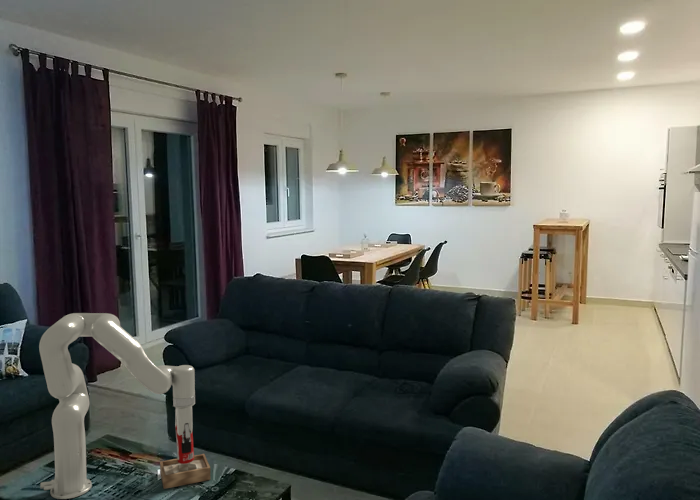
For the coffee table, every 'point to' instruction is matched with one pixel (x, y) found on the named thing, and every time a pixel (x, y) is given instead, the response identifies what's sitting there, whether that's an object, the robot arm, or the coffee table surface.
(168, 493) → the coffee table surface
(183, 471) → the wooden box
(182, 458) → the beverage can
